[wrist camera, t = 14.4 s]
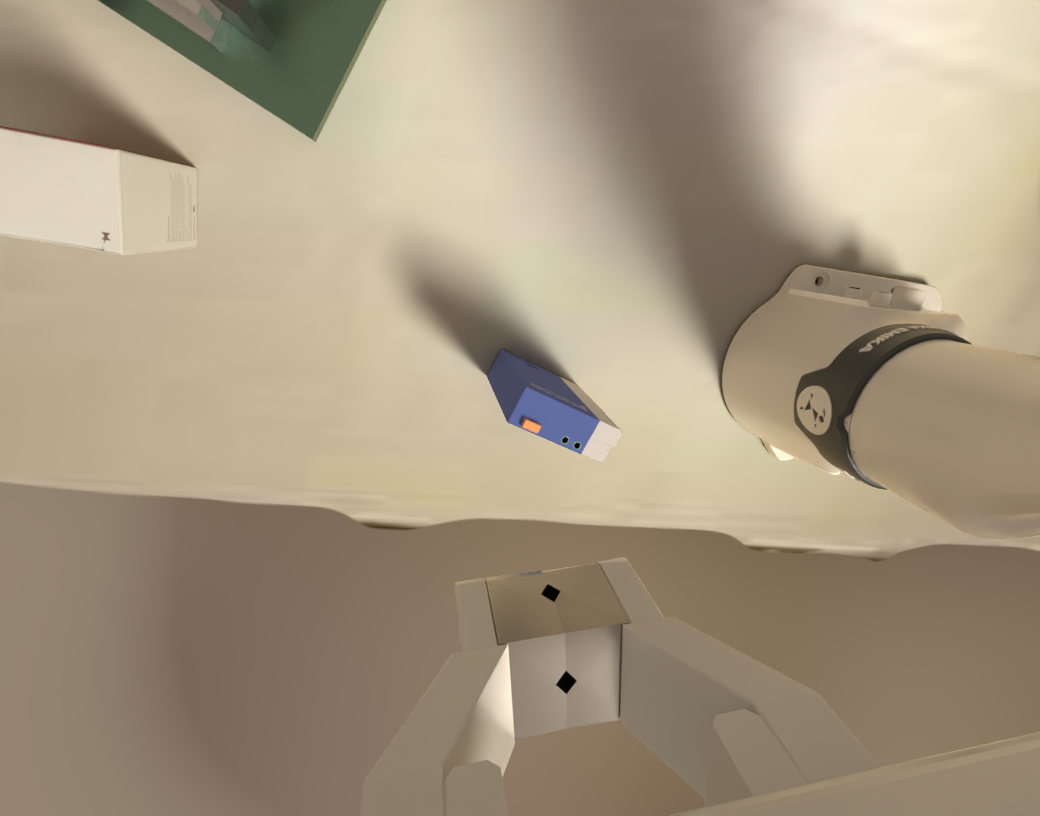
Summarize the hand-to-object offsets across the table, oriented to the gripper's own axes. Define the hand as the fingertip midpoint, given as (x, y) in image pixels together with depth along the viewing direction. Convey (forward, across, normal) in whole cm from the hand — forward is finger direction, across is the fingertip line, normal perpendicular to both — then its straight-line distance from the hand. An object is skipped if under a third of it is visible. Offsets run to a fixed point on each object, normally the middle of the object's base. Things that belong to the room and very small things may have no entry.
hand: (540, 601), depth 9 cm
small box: (+37, +21, -9) cm, 44 cm away
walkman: (+37, -7, +7) cm, 39 cm away
